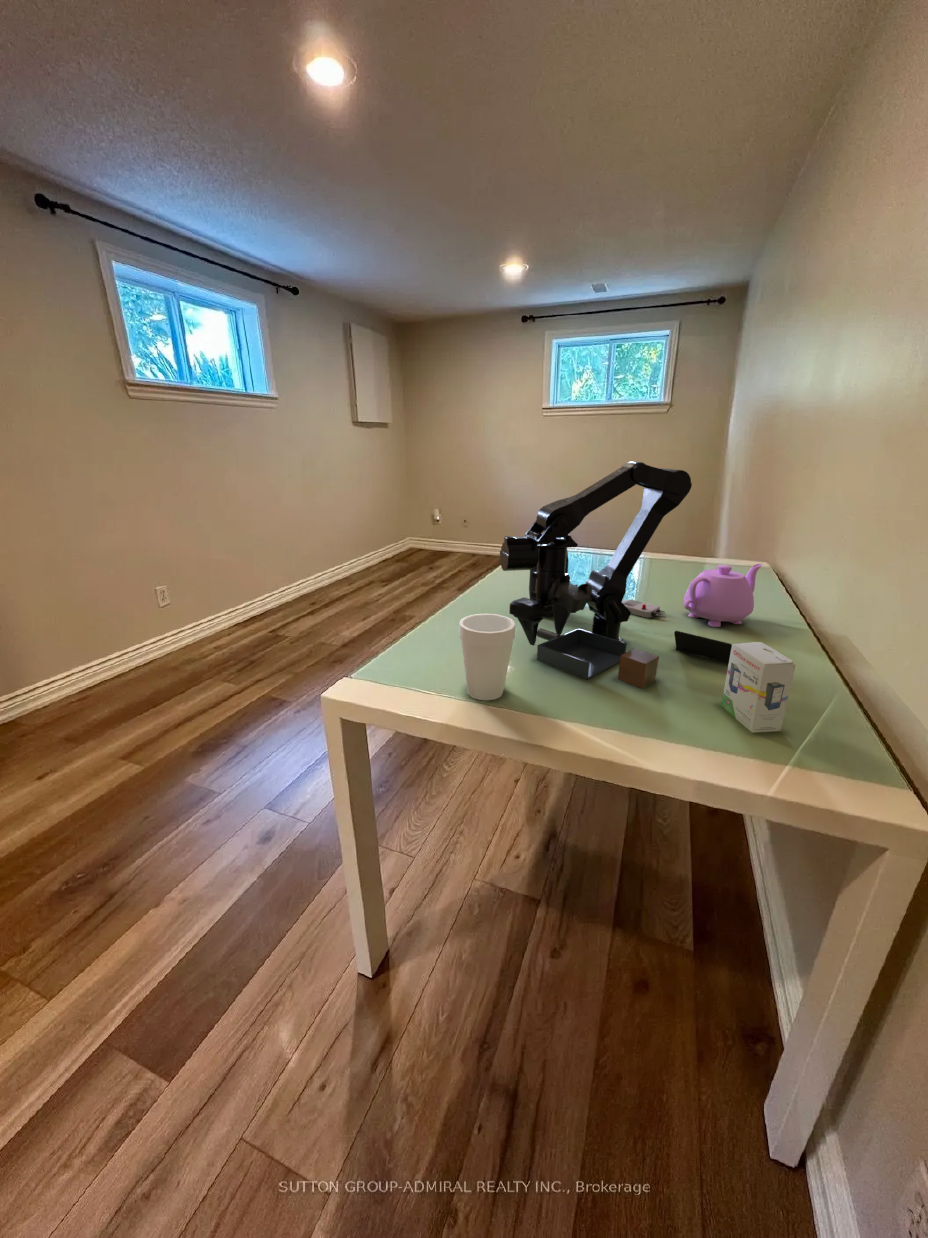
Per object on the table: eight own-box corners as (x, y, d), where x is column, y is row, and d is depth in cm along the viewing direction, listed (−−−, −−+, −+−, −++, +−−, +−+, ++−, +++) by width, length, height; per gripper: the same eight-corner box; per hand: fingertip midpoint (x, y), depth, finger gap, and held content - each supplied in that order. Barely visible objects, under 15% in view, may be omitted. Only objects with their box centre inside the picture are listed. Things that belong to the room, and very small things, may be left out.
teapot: (726, 605, 134) (737, 555, 129) (777, 624, 120) (791, 570, 116) (661, 613, 127) (669, 561, 123) (706, 634, 114) (717, 577, 109)
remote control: (618, 602, 136) (619, 591, 135) (674, 616, 125) (676, 605, 124) (606, 607, 131) (607, 596, 130) (662, 622, 121) (664, 611, 120)
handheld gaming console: (739, 644, 104) (738, 617, 96) (736, 674, 100) (735, 648, 93) (680, 640, 110) (675, 614, 103) (675, 668, 106) (670, 643, 99)
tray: (558, 636, 112) (559, 620, 110) (626, 658, 100) (628, 641, 99) (517, 653, 103) (518, 636, 101) (587, 680, 91) (589, 661, 90)
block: (659, 656, 90) (655, 680, 91) (634, 648, 93) (630, 671, 95) (646, 664, 86) (642, 689, 88) (620, 655, 90) (617, 679, 92)
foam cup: (457, 679, 91) (458, 613, 86) (507, 678, 91) (510, 613, 87) (460, 705, 82) (461, 633, 78) (515, 704, 83) (519, 632, 78)
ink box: (781, 732, 75) (800, 663, 71) (749, 734, 75) (766, 664, 71) (746, 704, 83) (761, 640, 79) (717, 705, 83) (731, 641, 79)
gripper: (555, 585, 88) (549, 663, 94) (610, 568, 100) (602, 638, 106) (509, 573, 96) (506, 646, 101) (565, 559, 108) (559, 625, 113)
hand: (545, 639), depth 105 cm, fingers open, 9 cm apart
